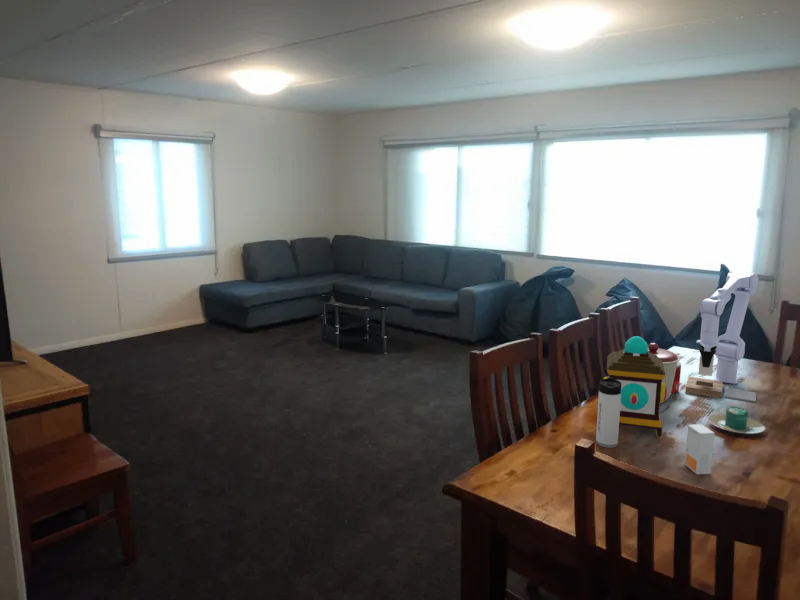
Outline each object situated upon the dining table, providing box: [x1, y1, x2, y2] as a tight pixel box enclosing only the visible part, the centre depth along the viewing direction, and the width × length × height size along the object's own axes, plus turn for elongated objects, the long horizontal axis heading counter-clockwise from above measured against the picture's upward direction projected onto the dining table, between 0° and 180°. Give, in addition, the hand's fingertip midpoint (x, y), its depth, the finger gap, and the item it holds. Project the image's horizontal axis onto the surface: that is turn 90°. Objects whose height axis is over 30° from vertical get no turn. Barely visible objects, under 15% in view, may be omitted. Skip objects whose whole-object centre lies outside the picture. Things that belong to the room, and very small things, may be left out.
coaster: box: [724, 388, 757, 403], centre depth 216 cm, size 10×10×1 cm
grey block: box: [698, 354, 715, 377], centre depth 221 cm, size 4×4×7 cm
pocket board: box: [684, 376, 724, 399], centre depth 222 cm, size 14×12×2 cm
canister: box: [647, 342, 681, 403], centre depth 212 cm, size 18×18×21 cm
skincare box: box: [684, 423, 715, 475], centre depth 158 cm, size 6×4×12 cm
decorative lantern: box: [602, 335, 667, 438], centre depth 187 cm, size 20×20×30 cm
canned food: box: [671, 361, 682, 394], centre depth 221 cm, size 8×8×11 cm
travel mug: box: [595, 378, 621, 449], centre depth 174 cm, size 6×7×20 cm
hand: (706, 365), depth 221 cm, fingers closed on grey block, 4 cm apart
